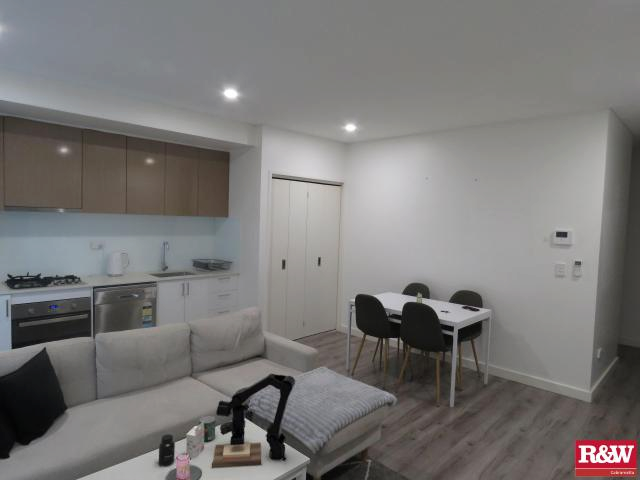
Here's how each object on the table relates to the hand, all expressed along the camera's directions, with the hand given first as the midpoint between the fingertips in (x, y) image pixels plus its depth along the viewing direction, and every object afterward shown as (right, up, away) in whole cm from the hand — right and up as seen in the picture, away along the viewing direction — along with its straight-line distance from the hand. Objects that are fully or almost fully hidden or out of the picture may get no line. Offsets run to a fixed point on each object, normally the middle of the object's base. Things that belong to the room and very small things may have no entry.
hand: (237, 448), depth 196 cm
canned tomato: (-18, -1, +11) cm, 21 cm away
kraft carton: (+1, -1, -7) cm, 7 cm away
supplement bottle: (-31, -2, -9) cm, 32 cm away
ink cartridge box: (-20, -2, -2) cm, 20 cm away
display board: (+1, -2, -3) cm, 4 cm away
